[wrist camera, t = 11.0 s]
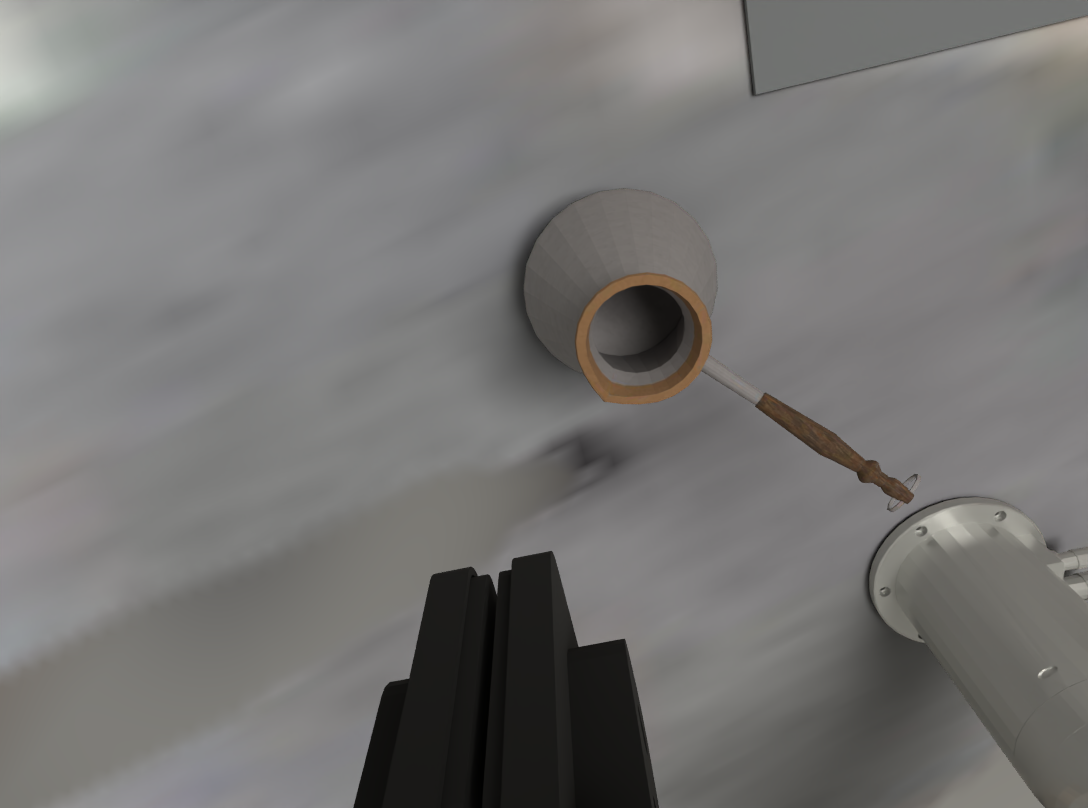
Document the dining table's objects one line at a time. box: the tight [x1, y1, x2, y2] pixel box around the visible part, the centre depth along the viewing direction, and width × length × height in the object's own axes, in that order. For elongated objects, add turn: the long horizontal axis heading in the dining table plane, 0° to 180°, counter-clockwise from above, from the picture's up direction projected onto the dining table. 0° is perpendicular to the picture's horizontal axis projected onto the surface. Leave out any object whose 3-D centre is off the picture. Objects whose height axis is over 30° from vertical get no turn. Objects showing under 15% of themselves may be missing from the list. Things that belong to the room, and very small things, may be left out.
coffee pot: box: [523, 188, 921, 512], centre depth 40 cm, size 21×12×15 cm, turn 60°
